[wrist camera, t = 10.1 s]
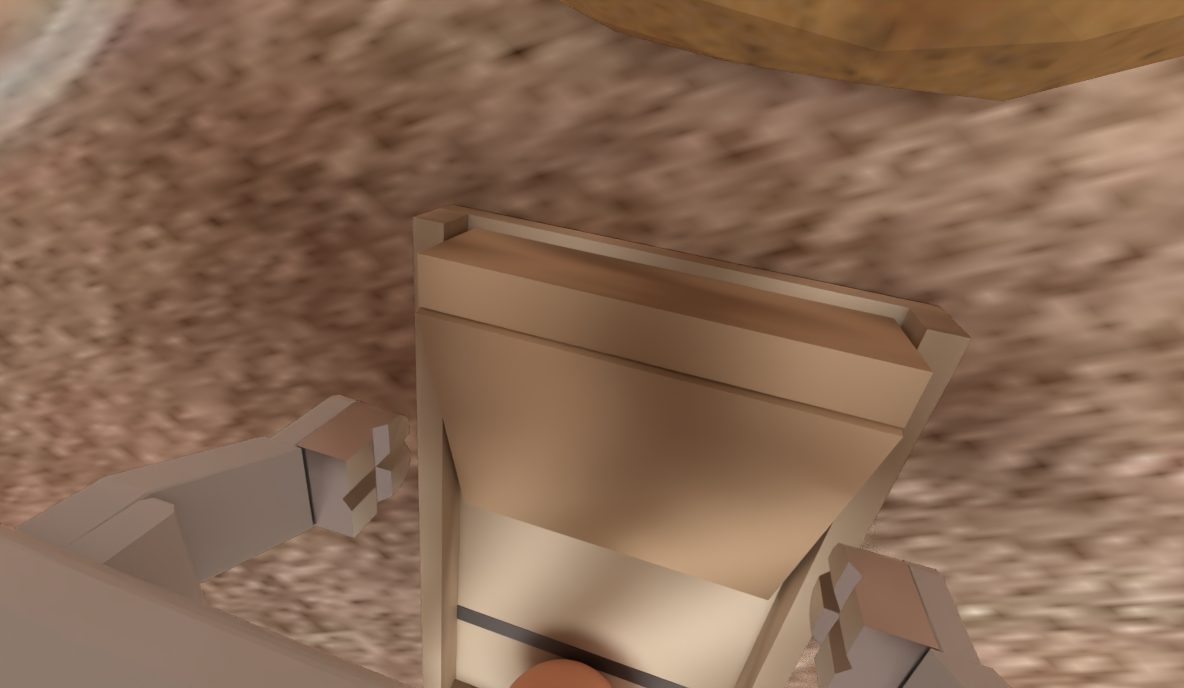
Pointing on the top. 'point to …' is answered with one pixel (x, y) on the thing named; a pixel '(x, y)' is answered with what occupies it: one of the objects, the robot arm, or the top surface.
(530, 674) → the ball
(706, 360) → the tray
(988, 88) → the potato
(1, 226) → the top surface
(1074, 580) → the top surface
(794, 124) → the top surface
